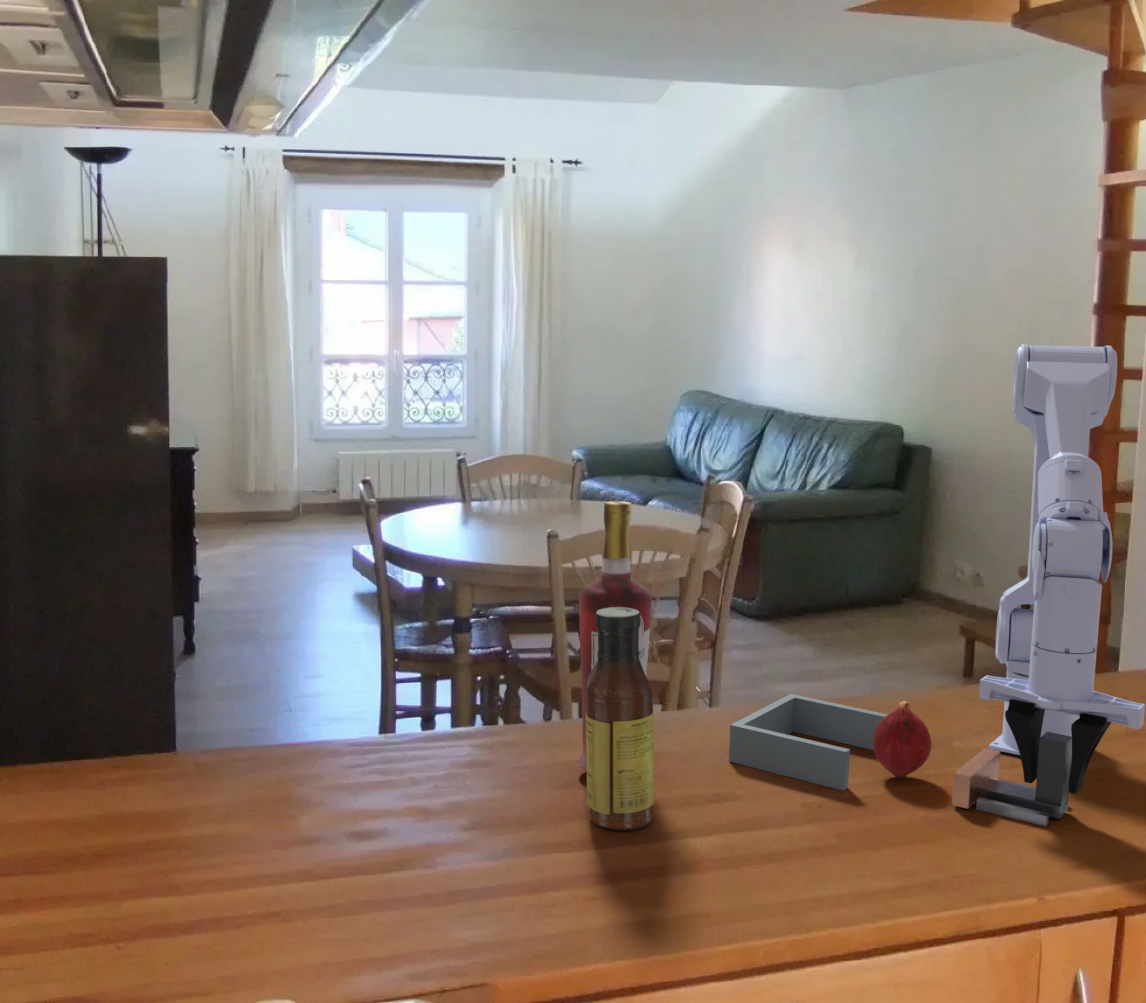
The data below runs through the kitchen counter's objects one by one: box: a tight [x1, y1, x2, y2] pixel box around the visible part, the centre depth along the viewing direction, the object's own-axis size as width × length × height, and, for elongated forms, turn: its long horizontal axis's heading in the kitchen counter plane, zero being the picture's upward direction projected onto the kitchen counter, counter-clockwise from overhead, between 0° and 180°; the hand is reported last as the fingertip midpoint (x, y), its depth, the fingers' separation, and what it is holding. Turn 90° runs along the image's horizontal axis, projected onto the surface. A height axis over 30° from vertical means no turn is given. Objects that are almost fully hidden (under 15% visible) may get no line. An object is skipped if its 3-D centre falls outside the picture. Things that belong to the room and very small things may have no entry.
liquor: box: [577, 500, 653, 774], centre depth 124 cm, size 7×7×28 cm
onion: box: [872, 700, 932, 779], centre depth 126 cm, size 6×6×8 cm
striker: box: [951, 732, 1072, 820], centre depth 119 cm, size 9×9×7 cm
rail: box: [975, 778, 1050, 828], centre depth 120 cm, size 7×6×1 cm
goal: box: [728, 693, 889, 791], centre depth 132 cm, size 14×13×4 cm
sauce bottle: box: [586, 607, 655, 831], centre depth 113 cm, size 6×6×20 cm
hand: (1052, 785), depth 118 cm, fingers open, 3 cm apart
